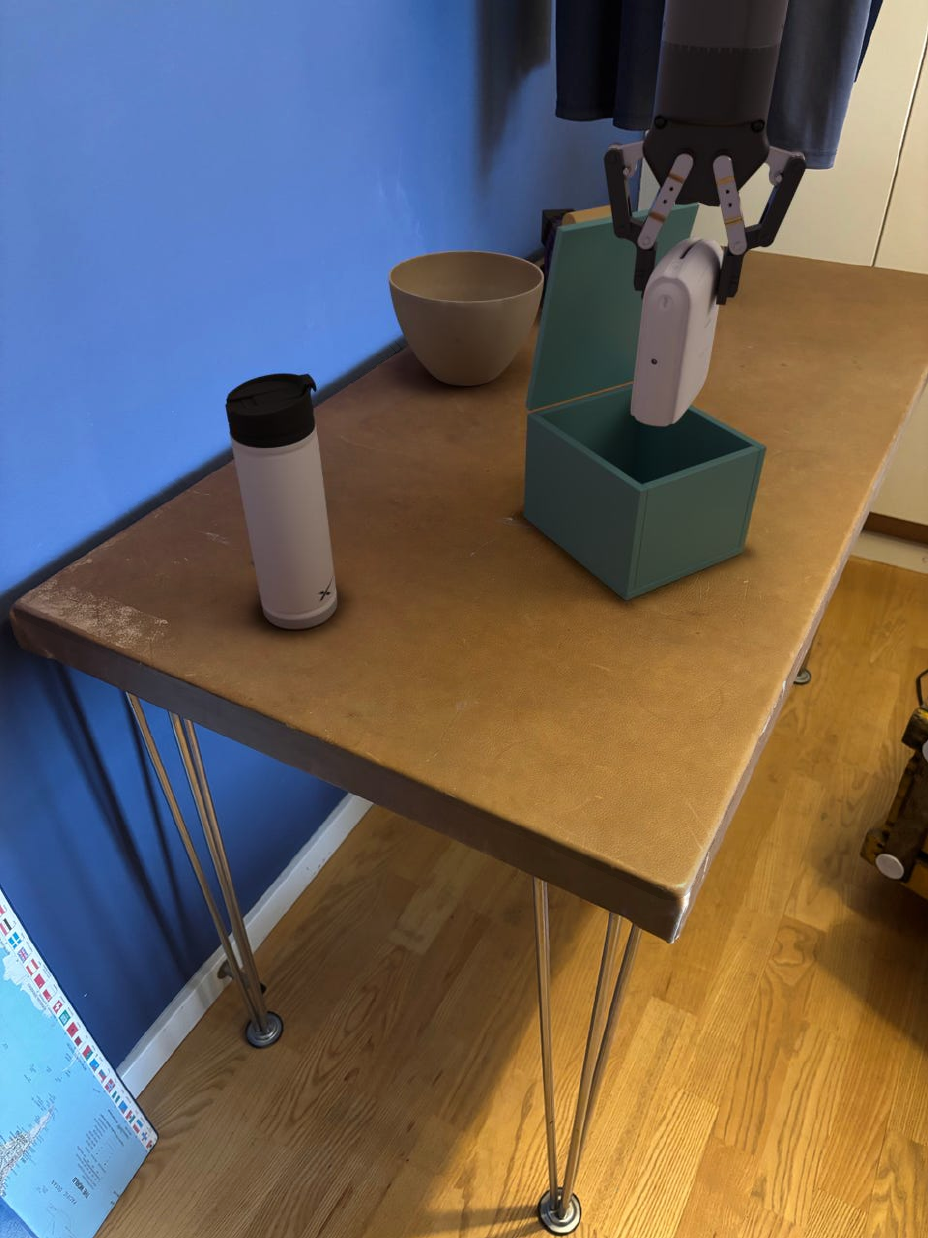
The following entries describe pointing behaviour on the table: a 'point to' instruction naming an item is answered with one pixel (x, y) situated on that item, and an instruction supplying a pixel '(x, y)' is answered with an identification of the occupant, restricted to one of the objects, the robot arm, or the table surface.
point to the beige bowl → (465, 311)
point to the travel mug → (283, 497)
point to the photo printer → (676, 331)
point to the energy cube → (550, 239)
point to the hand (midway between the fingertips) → (683, 297)
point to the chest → (639, 489)
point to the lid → (593, 305)
